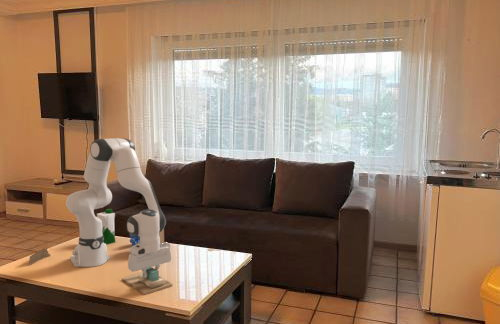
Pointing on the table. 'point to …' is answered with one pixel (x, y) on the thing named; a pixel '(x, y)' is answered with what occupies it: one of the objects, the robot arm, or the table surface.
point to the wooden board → (135, 283)
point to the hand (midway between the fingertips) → (150, 275)
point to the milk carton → (107, 225)
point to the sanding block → (151, 278)
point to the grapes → (134, 239)
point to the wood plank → (39, 256)
